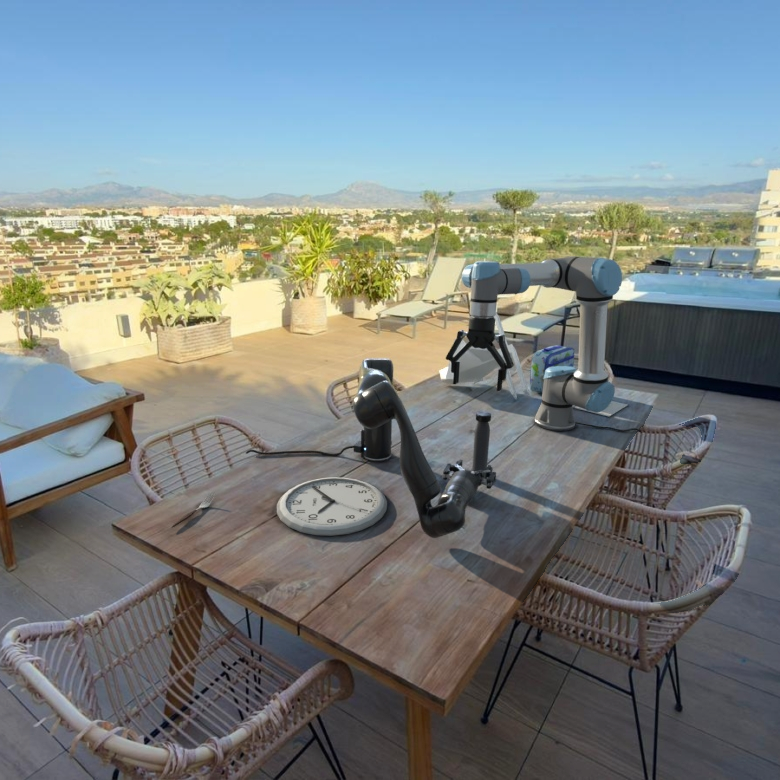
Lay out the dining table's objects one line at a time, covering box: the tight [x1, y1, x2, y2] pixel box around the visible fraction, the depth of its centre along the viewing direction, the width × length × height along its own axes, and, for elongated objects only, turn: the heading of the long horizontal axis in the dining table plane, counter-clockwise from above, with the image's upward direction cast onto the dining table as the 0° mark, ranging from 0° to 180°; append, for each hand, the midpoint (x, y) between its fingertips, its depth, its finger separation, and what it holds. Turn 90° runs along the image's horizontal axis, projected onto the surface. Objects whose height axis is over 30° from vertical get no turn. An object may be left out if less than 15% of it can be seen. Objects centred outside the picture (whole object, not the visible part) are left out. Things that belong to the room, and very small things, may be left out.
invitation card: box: [573, 400, 629, 418], centre depth 226 cm, size 21×1×15 cm
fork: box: [171, 493, 217, 529], centre depth 137 cm, size 3×16×2 cm, turn 160°
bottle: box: [471, 421, 491, 477], centre depth 158 cm, size 4×4×20 cm
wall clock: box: [276, 476, 388, 537], centre depth 142 cm, size 30×2×30 cm
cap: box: [475, 410, 492, 423], centre depth 156 cm, size 4×4×2 cm
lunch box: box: [529, 345, 575, 394], centre depth 245 cm, size 26×11×21 cm, turn 134°
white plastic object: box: [438, 312, 531, 400], centre depth 245 cm, size 37×45×31 cm
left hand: (475, 465), depth 154 cm, fingers open, 8 cm apart
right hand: (477, 386), depth 157 cm, fingers open, 13 cm apart
